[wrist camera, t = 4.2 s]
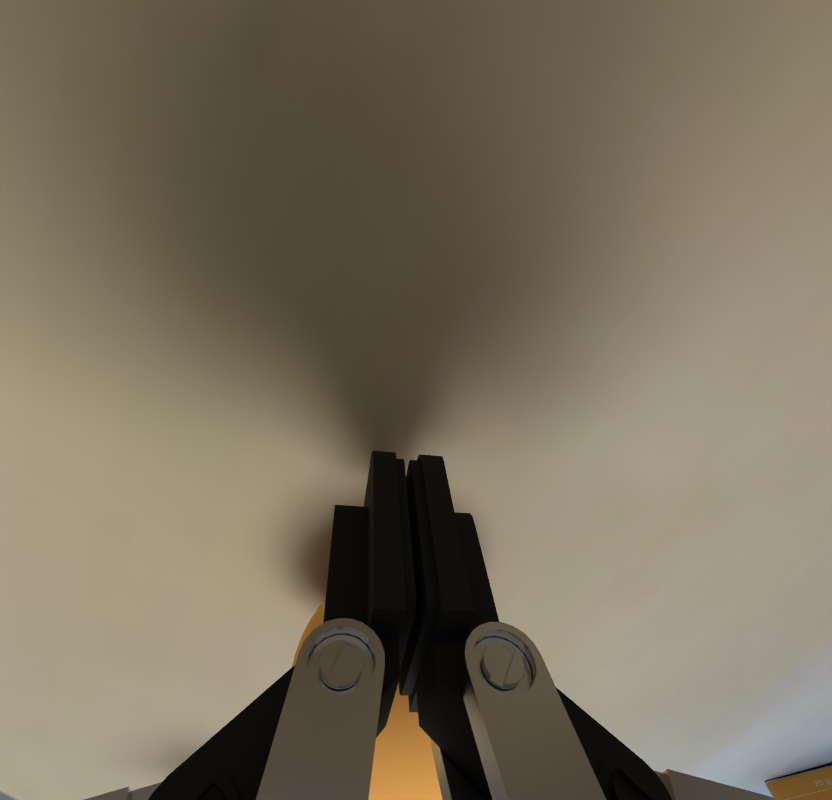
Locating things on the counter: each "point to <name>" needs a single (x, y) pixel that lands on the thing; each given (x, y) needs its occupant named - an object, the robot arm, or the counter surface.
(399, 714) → the ball
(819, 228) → the counter surface
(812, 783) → the small box
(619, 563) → the counter surface
